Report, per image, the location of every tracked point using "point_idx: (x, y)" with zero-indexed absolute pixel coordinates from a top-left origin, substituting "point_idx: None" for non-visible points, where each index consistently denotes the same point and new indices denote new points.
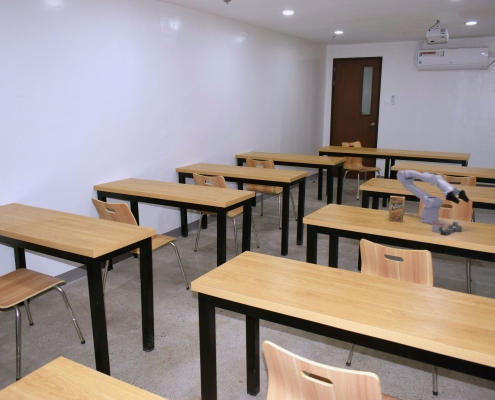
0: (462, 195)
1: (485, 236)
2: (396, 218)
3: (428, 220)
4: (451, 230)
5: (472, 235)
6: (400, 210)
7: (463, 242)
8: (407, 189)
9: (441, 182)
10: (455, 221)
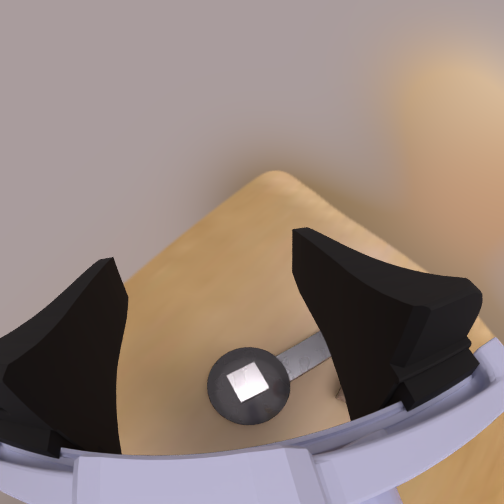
0: (78, 363)
1: (178, 258)
2: None
3: None
4: (317, 332)
5: (226, 282)
6: None
7: (338, 213)
8: None
9: None
10: (241, 393)
